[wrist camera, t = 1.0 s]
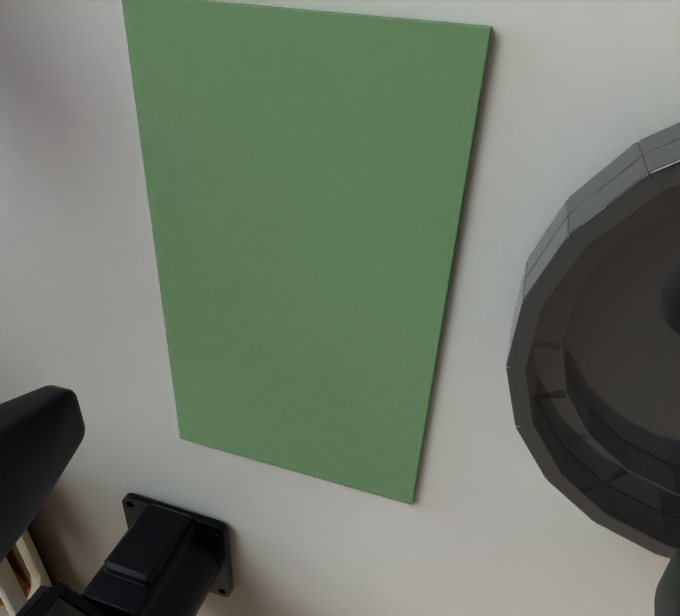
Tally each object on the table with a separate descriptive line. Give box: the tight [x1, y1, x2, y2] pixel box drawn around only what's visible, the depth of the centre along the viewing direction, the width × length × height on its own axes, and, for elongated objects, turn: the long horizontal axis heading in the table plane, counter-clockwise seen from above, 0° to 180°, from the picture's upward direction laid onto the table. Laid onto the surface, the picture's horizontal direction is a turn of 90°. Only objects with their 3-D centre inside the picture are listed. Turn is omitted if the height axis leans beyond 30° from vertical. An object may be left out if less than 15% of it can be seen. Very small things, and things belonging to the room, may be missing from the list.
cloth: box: [122, 0, 492, 505], centre depth 24 cm, size 20×12×1 cm, turn 178°
